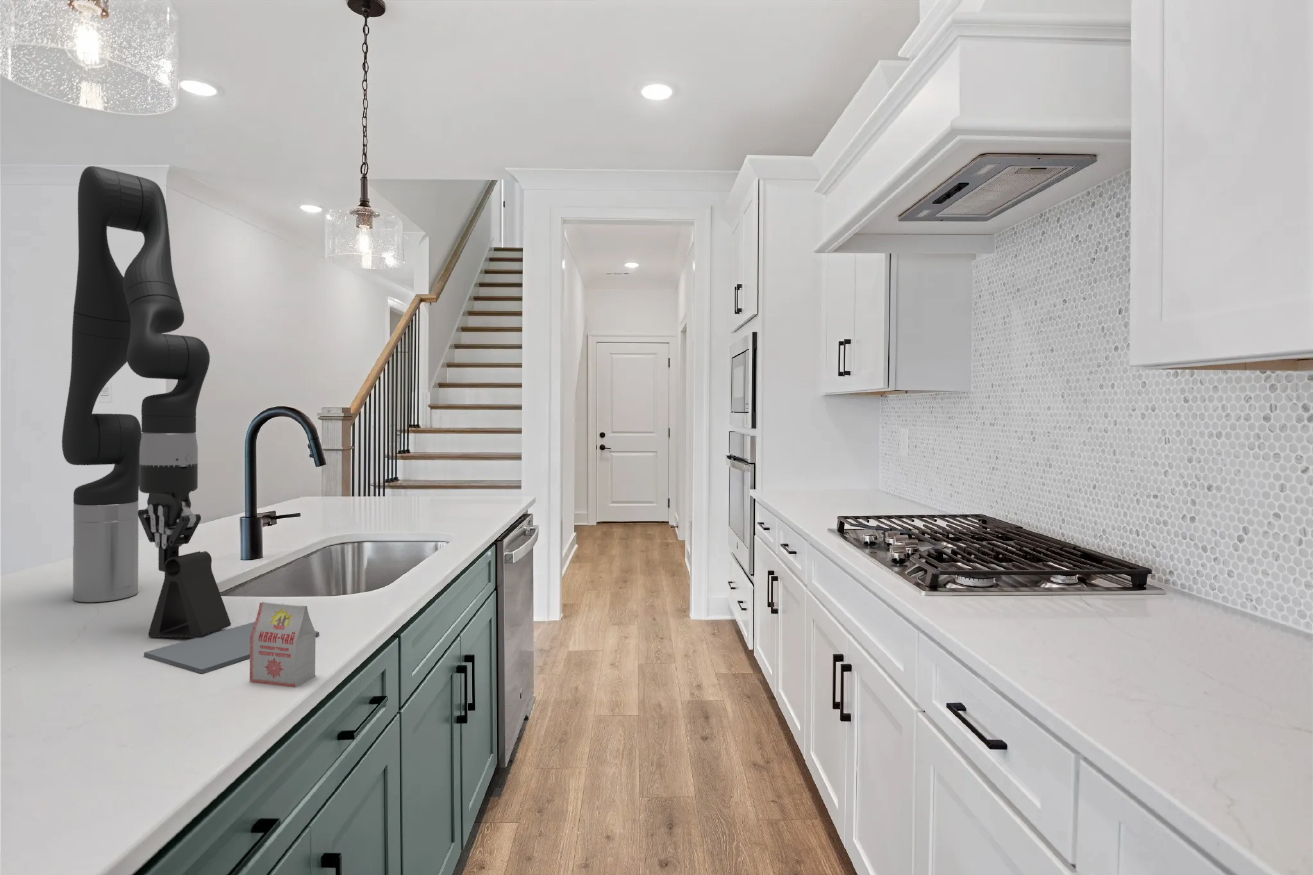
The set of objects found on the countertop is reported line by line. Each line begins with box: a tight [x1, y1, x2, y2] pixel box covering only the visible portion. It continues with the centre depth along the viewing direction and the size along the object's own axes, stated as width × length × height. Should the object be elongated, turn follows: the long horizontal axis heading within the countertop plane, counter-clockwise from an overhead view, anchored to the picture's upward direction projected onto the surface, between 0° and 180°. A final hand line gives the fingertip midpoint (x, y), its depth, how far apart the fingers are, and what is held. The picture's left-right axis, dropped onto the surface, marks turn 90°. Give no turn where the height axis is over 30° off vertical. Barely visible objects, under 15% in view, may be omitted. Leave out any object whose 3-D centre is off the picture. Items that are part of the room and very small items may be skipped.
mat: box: [143, 621, 320, 675], centre depth 102 cm, size 13×18×1 cm
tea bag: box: [249, 601, 317, 688], centre depth 90 cm, size 4×7×10 cm, turn 79°
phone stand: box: [147, 550, 232, 638], centre depth 107 cm, size 9×6×12 cm, turn 83°
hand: (168, 570), depth 109 cm, fingers closed
